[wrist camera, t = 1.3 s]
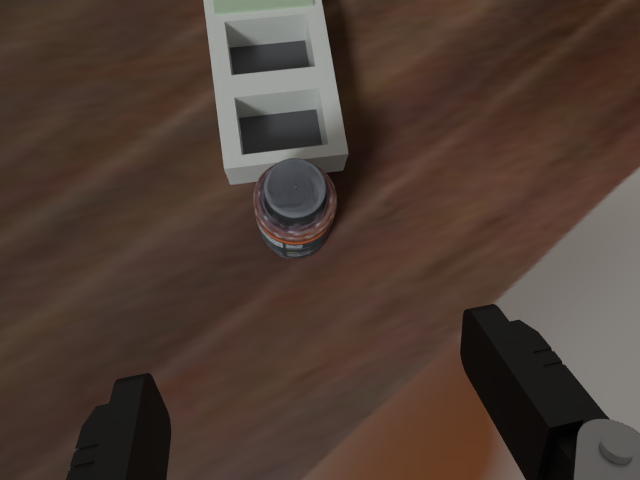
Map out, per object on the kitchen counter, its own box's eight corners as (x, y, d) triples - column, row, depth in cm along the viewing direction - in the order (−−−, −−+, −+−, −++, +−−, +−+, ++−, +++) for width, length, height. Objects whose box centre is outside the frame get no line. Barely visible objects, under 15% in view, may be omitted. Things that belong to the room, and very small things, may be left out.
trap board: (230, 184, 41) (223, 167, 37) (203, -33, 45) (194, -71, 41) (343, 170, 42) (348, 152, 38) (306, -42, 46) (308, -80, 42)
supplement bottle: (307, 182, 42) (314, 126, 31) (341, 240, 41) (361, 204, 30) (247, 213, 41) (232, 168, 30) (280, 273, 40) (277, 249, 29)
